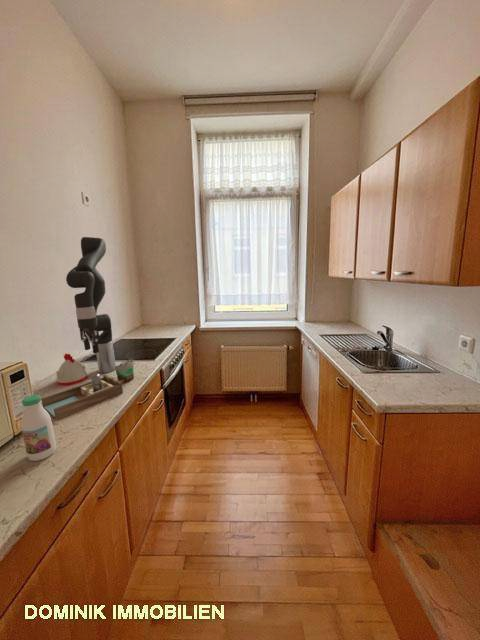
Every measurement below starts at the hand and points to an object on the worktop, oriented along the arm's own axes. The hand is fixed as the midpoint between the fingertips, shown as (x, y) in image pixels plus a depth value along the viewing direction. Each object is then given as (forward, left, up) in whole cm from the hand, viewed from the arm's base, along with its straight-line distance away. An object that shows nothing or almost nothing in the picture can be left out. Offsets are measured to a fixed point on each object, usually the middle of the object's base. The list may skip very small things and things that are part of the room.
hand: (91, 351), depth 122 cm
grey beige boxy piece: (0, 0, -21) cm, 21 cm away
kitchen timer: (-30, 0, -22) cm, 37 cm away
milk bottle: (+27, -30, -22) cm, 46 cm away
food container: (-4, +18, -22) cm, 29 cm away
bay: (0, -6, -22) cm, 23 cm away
